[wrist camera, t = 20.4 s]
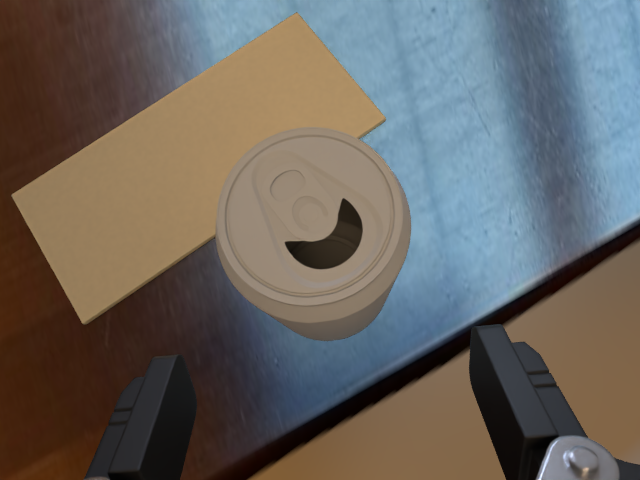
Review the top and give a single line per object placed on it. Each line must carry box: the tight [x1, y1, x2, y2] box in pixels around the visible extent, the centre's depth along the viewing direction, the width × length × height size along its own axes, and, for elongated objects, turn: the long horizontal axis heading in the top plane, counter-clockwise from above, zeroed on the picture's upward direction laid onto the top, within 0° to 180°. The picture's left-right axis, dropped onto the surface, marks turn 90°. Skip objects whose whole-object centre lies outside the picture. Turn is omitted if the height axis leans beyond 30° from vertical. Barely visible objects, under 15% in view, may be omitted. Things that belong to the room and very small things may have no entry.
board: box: [11, 12, 386, 324], centre depth 28 cm, size 20×9×1 cm, turn 125°
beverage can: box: [215, 127, 411, 341], centre depth 20 cm, size 6×6×12 cm
